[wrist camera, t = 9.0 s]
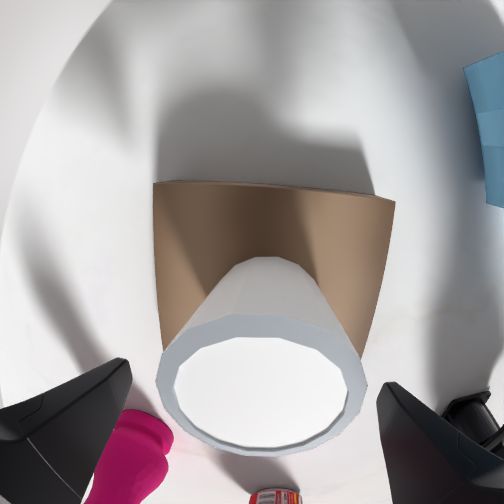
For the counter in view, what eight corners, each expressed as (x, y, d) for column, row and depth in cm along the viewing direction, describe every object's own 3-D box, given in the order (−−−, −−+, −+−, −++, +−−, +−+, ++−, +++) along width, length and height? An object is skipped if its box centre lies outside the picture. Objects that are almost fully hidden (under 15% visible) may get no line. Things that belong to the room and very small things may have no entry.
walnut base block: (375, 195, 15) (395, 201, 12) (342, 363, 19) (350, 390, 16) (173, 180, 16) (153, 183, 13) (179, 349, 19) (166, 374, 17)
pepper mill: (149, 450, 25) (96, 581, 6) (103, 412, 23) (26, 546, 4) (192, 442, 23) (143, 605, 4) (141, 398, 22) (54, 573, 3)
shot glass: (358, 289, 14) (410, 376, 7) (283, 375, 16) (283, 473, 9) (245, 216, 13) (214, 264, 7) (182, 320, 15) (130, 408, 8)
